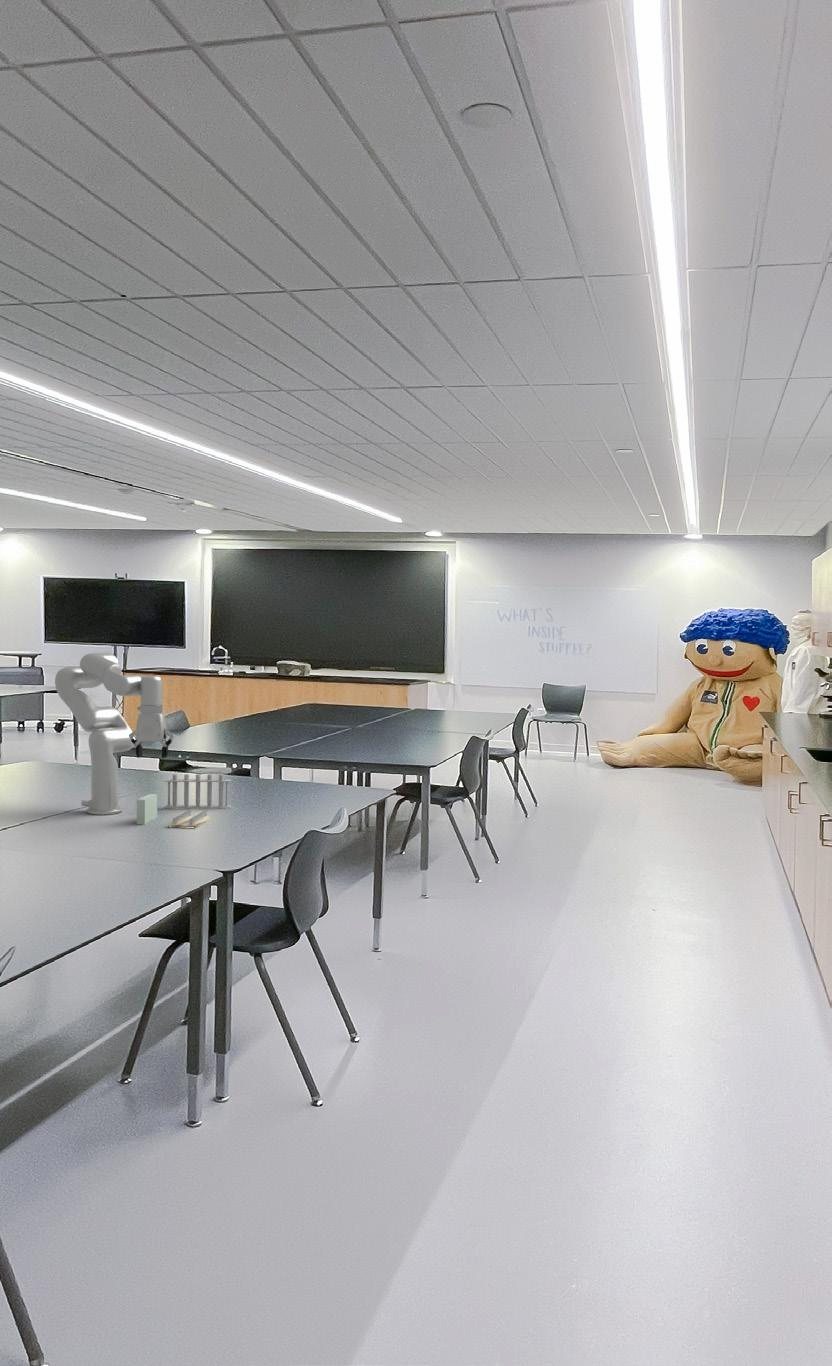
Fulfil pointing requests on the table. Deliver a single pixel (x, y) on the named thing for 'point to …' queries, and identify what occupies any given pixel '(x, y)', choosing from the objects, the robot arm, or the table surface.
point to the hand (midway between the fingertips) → (152, 757)
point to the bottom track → (190, 820)
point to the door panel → (146, 808)
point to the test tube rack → (197, 791)
